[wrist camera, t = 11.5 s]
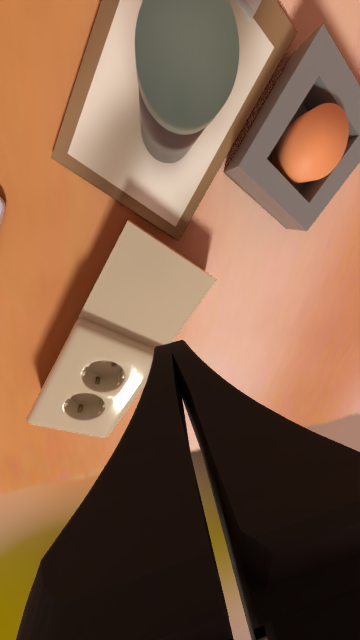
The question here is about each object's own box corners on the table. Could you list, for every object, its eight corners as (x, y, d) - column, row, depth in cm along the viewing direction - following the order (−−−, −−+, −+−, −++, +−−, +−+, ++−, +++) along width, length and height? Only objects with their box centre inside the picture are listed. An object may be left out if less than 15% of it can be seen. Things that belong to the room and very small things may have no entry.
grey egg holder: (223, 172, 15) (238, 166, 13) (291, 54, 12) (323, 23, 10) (286, 228, 17) (307, 230, 15) (350, 139, 15) (385, 128, 13)
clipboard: (53, 159, 13) (47, 155, 12) (158, -164, 9) (160, -206, 8) (177, 239, 16) (179, 241, 15) (292, 37, 12) (304, 23, 11)
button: (261, 162, 14) (281, 154, 12) (298, 102, 13) (326, 84, 11) (294, 195, 16) (316, 193, 14) (329, 144, 14) (359, 134, 13)
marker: (164, 176, 14) (181, 150, 8) (128, 123, 12) (111, 36, 6) (204, 137, 13) (257, 72, 7) (170, 76, 12) (198, -76, 5)
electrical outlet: (221, 283, 15) (107, 441, 20) (204, 269, 18) (111, 406, 23) (127, 221, 12) (22, 425, 17) (128, 218, 15) (41, 388, 20)
